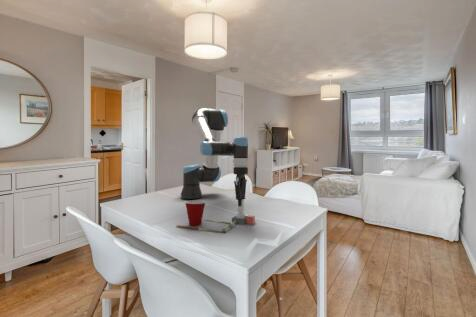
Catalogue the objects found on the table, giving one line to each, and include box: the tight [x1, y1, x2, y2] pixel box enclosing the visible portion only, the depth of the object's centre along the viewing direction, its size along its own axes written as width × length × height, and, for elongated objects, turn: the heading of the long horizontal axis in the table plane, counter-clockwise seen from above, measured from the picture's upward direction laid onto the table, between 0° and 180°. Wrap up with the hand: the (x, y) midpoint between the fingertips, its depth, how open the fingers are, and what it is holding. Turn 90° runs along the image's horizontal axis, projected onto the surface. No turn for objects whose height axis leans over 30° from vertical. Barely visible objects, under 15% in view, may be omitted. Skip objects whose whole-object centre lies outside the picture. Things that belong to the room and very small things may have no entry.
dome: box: [235, 212, 246, 219], centre depth 127 cm, size 5×5×5 cm
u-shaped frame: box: [175, 219, 237, 234], centre depth 121 cm, size 15×25×2 cm, turn 69°
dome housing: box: [231, 214, 256, 227], centre depth 126 cm, size 7×11×4 cm, turn 69°
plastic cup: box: [184, 200, 207, 227], centre depth 123 cm, size 11×11×12 cm
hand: (240, 211), depth 127 cm, fingers closed
